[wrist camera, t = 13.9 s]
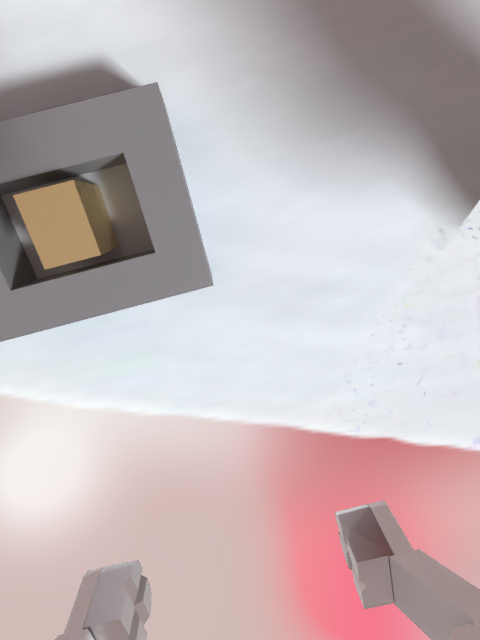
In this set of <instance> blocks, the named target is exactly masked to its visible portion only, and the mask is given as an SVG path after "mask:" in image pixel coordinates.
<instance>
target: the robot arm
mask: <svg viewBox="0 0 480 640" xmlns="http://www.w3.org/2000/svg"><path fill="white" fill-rule="evenodd" d="M335 516H336V521H337V524H338V527H339V529H340V531H339V537H340V541H341V546H342V549H343V552H344V556H345V558H346V561H347V564H348V567H349V569H351V570H352V571H353V576H354V582H355V586H356V588H357V591H358V594H359V596H360V599H361V601H362V604H363V607H364V609H368V608H373V607H378V606H383V605H388V604H393V603H395V605H396V606H397V607H398V608H399V609H400V610H401V611H402V612H403V613H404V614H405V615H406V616H407V617H408V618H409V619H410V620H412V621H413V622H414V623H415V624H416V625H417V626H418V627H419V628H420V629H421V630H422V631H423V632H424V633H425V634H426V635H427V636H428V637H429V638H430V639H431V640H480V589H478V588H477V587H475V586H474V585H472V584H470V583H469V582H467V581H466V580H465V579H463V578H462V577H460V576H459V575H457V574H456V573H454V572H452V571H451V570H449V569H448V568H447V567H445V566H443V565H442V564H441V563H439V562H438V561H436V560H435V559H433V558H432V557H430V556H429V555H427V554H425V553H424V552H423V551H421V550H419V549H418V550H414V549H413V548H412V546H411V544H410V543H409V541H408V539H407V537H406V536H405V534H404V532H403V530H402V529H401V527H400V525H399V524H398V522H397V520H396V518H395V517H394V515H393V514H392V512H391V510H390V508H389V506H388V505H387V503H386V502H385V501H380V502H375V503H371V504H368V505H362V506H358V507H354V508H350V509H346V510H342V511H338V512H335ZM141 572H142V566H141V564H140V562H139V561H138V560H137V561H131V562H127V563H122V564H118V565H112V566H108V567H103V568H99V569H94V570H90V571H87V573H86V574H85V576H84V577H83V580H82V582H81V585H80V588H79V591H78V594H77V597H76V600H75V602H74V606H73V608H72V611H71V614H70V617H69V620H68V622H67V625H66V628H65V631H64V634H61V635H58V636H57V638H56V639H55V640H146V637H147V632H146V630H145V628H144V626H143V625H144V624H145V622H146V621H147V619H148V618H149V616H150V611H151V589H150V584H149V582H148V579H147V578H146V577H144V576H142V575H141Z"/></svg>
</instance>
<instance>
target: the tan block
mask: <svg viewBox="0 0 480 640" xmlns="http://www.w3.org/2000/svg"><path fill="white" fill-rule="evenodd" d="M13 197H14V199H15V201H16V204H17V206H18V208H19V211H20V213H21V215H22V218H23V220H24V222H25V225H26V227H27V229H28V232H29V234H30V236H31V239H32V241H33V243H34V246H35V248H36V250H37V253H38V255H39V257H40V260H41V262H42V264H43V267H44V269H45V270H46V269H49V268H53V267H57V266H61V265H65V264H69V263H72V262H76V261H80V260H84V259H88V258H92V257H95V256H99V255H102V254H105V253H107V252H109V251H111V250H113V249H116V248H118V247H120V245H119V242H118V239H117V236H116V234H115V231H114V228H113V225H112V222H111V219H110V216H109V214H108V211H107V208H106V205H105V202H104V199H103V196H102V194H101V191H100V188H99V186H97V185H93V184H89V183H85V182H80V181H76V180H71V181H67V182H63V183H59V184H55V185H51V186H47V187H43V188H39V189H35V190H31V191H28V192H24V193H20V194H16V195H13Z"/></svg>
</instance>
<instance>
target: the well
mask: <svg viewBox="0 0 480 640" xmlns="http://www.w3.org/2000/svg"><path fill="white" fill-rule="evenodd" d="M71 180H76V181H80V182H85V183H89V184H93V185H97V186H99V188H100V191H101V194H102V196H103V199H104V202H105V205H106V208H107V211H108V214H109V216H110V219H111V222H112V225H113V228H114V231H115V234H116V236H117V239H118V242H119V245H120V247H118V248H116V249H113V250H111V251H109V252H107V253H105V254H102V255H99V256H95V257H92V258H88V259H84V260H80V261H76V262H72V263H69V264H65V265H61V266H57V267H53V268H49V269H46V270H45V269H44V267H43V264H42V262H41V260H40V257H39V255H38V253H37V250H36V248H35V246H34V243H33V241H32V239H31V236H30V234H29V232H28V229H27V227H26V225H25V222H24V220H23V218H22V215H21V213H20V211H19V208H18V206H17V204H16V201H15V199H14V197H13V195H16V194H20V193H24V192H28V191H31V190H35V189H39V188H43V187H47V186H51V185H55V184H59V183H63V182H67V181H71ZM209 286H213V281H212V275H211V271H210V267H209V264H208V260H207V257H206V253H205V249H204V246H203V242H202V238H201V235H200V231H199V227H198V224H197V220H196V216H195V213H194V209H193V206H192V202H191V198H190V195H189V191H188V187H187V184H186V180H185V176H184V173H183V169H182V165H181V162H180V158H179V155H178V151H177V147H176V144H175V140H174V136H173V133H172V129H171V125H170V122H169V118H168V115H167V111H166V107H165V104H164V101H163V98H162V95H161V92H160V89H159V86H158V83H157V82H156V83H152V84H148V85H144V86H140V87H136V88H132V89H128V90H124V91H120V92H116V93H112V94H108V95H104V96H99V97H95V98H91V99H87V100H83V101H79V102H75V103H71V104H67V105H63V106H59V107H55V108H51V109H47V110H43V111H39V112H35V113H31V114H27V115H23V116H19V117H15V118H11V119H7V120H3V121H0V342H1V341H5V340H9V339H13V338H16V337H20V336H24V335H28V334H32V333H35V332H39V331H43V330H47V329H50V328H54V327H58V326H62V325H66V324H69V323H73V322H77V321H81V320H84V319H88V318H92V317H96V316H99V315H103V314H107V313H111V312H115V311H118V310H122V309H126V308H130V307H133V306H137V305H141V304H145V303H149V302H152V301H156V300H160V299H164V298H167V297H171V296H175V295H179V294H182V293H186V292H190V291H194V290H198V289H201V288H205V287H209Z"/></svg>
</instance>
